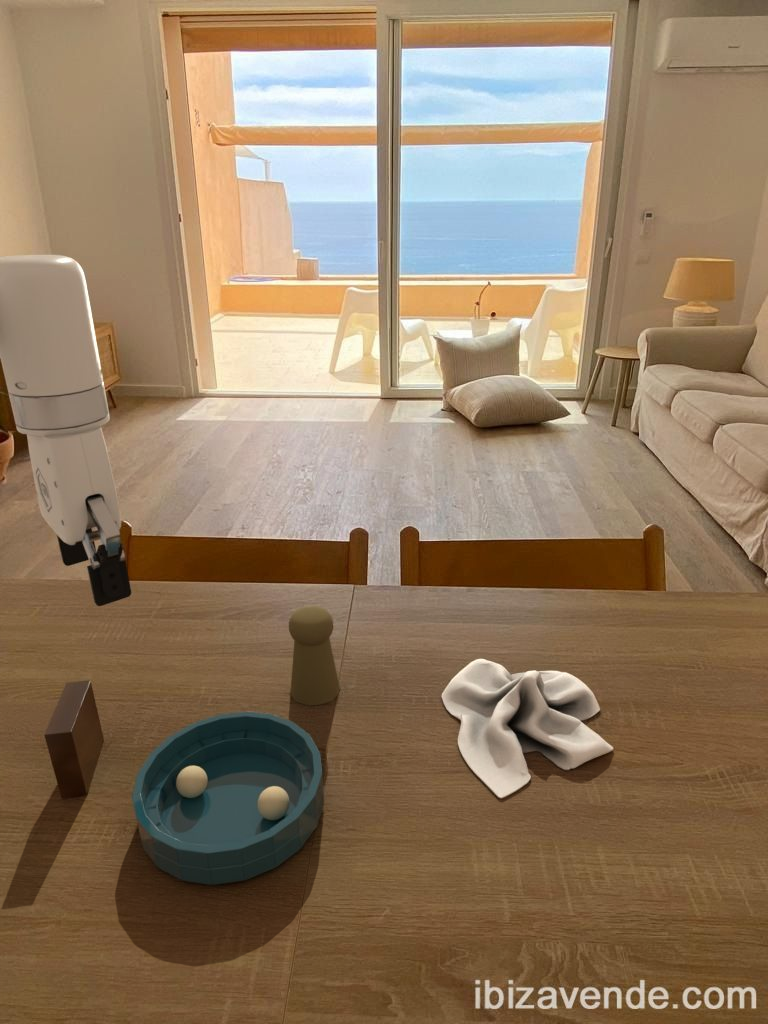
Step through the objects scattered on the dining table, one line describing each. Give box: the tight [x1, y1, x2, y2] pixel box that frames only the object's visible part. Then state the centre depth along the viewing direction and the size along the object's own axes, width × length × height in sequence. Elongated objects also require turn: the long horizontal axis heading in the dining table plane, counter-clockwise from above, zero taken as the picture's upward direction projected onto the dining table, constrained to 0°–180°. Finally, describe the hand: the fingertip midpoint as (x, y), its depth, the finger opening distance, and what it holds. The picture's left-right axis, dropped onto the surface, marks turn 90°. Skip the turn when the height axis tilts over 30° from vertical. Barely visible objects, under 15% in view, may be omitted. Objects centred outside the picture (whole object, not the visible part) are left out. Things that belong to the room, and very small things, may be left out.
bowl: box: [131, 710, 325, 886], centre depth 67 cm, size 18×18×4 cm
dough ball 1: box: [176, 766, 207, 798], centre depth 69 cm, size 3×3×3 cm
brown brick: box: [43, 679, 105, 799], centre depth 72 cm, size 2×8×8 cm, turn 9°
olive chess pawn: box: [288, 605, 341, 706], centre depth 83 cm, size 6×6×11 cm
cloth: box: [441, 658, 614, 799], centre depth 78 cm, size 22×19×6 cm
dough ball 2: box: [258, 786, 289, 820], centre depth 66 cm, size 3×3×3 cm
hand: (96, 579), depth 67 cm, fingers open, 9 cm apart
